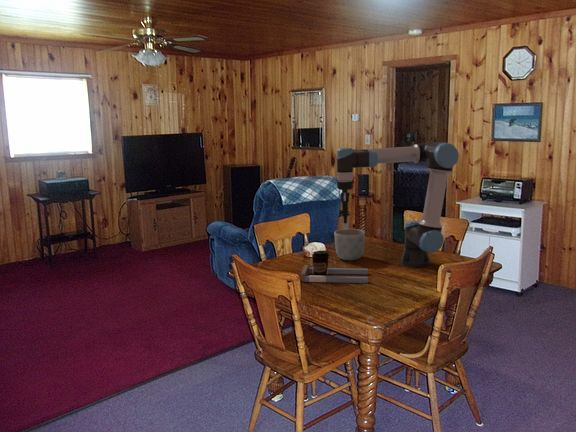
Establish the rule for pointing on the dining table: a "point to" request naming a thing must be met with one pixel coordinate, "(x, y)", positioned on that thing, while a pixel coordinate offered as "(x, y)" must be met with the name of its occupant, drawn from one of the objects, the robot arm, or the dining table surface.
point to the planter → (349, 243)
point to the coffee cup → (320, 263)
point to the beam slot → (334, 278)
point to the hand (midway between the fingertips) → (345, 229)
